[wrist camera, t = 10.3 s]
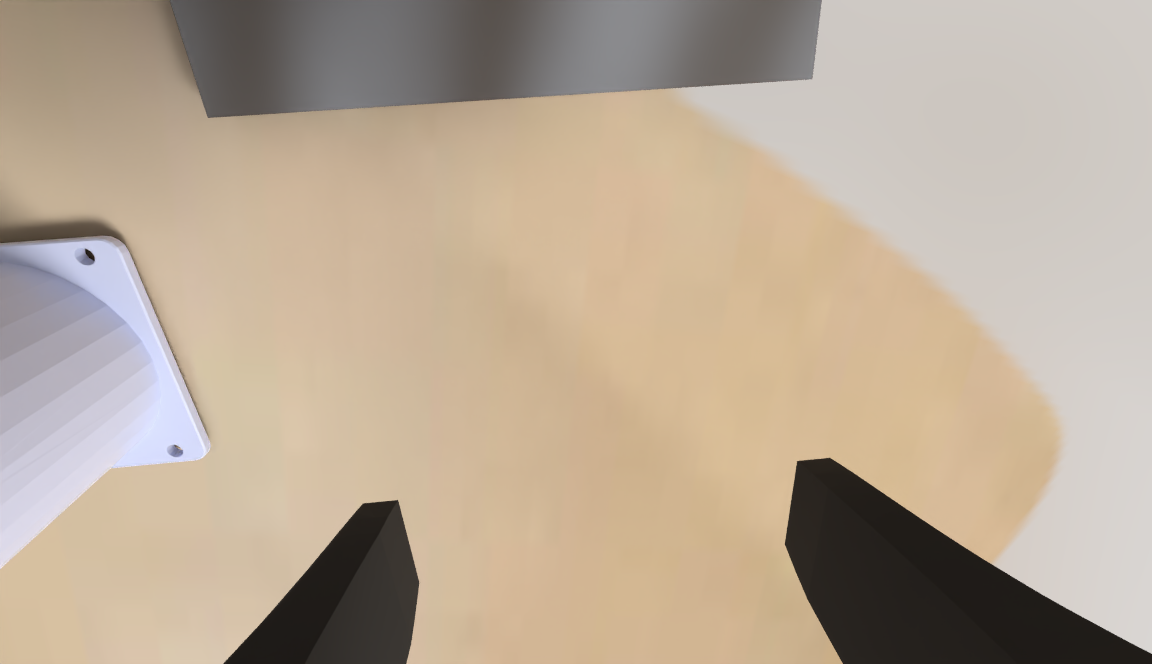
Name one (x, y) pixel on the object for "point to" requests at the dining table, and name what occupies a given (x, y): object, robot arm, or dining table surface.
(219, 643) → the dining table surface
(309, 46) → the base
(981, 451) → the dining table surface
